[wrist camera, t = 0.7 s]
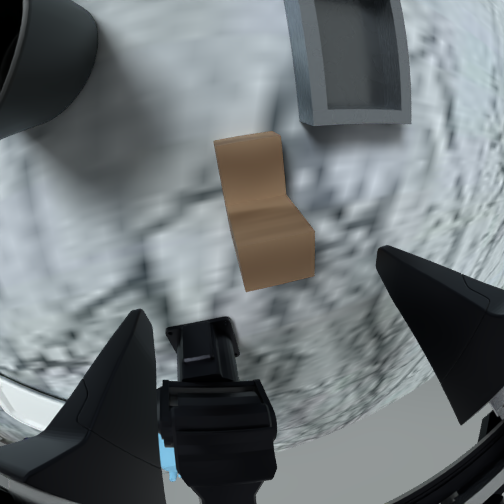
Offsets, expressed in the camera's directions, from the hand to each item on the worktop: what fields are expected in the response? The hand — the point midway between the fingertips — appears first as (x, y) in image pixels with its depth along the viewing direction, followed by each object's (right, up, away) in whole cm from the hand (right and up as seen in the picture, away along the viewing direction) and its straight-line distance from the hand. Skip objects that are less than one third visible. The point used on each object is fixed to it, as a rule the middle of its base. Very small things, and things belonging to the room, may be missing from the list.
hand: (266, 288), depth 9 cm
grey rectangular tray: (+6, +15, +5) cm, 17 cm away
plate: (-41, -30, +25) cm, 57 cm away
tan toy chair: (-1, +6, +10) cm, 11 cm away
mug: (-15, +15, 0) cm, 22 cm away
